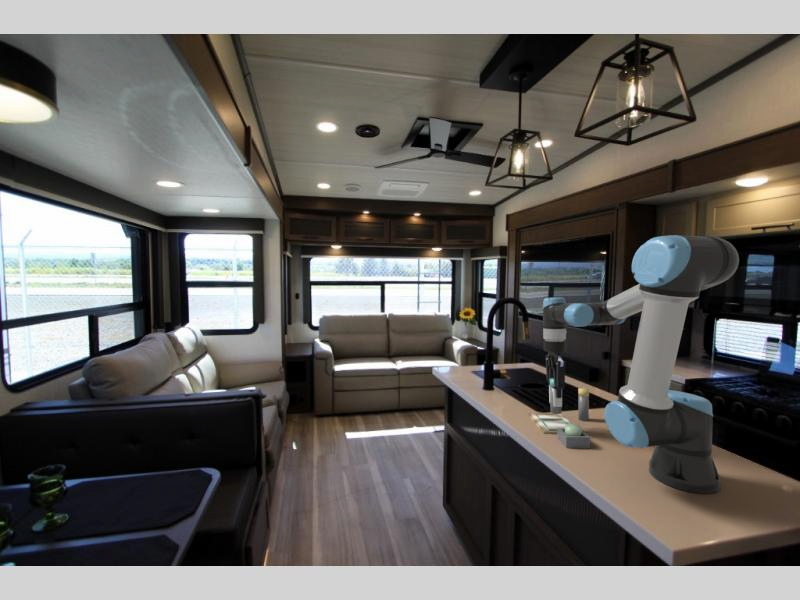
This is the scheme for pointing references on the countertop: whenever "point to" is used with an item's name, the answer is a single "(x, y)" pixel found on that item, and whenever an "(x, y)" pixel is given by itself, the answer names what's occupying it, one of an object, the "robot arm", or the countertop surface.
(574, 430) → the button
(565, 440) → the button housing
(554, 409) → the teal marker
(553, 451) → the countertop surface
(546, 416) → the double window tray
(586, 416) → the ochre marker
